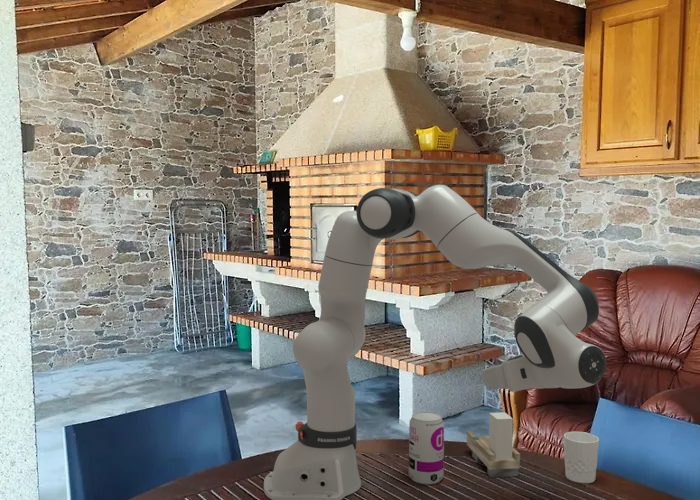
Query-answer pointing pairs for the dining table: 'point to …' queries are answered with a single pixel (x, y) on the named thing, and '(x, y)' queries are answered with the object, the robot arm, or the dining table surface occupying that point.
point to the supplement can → (426, 448)
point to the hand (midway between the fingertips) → (507, 367)
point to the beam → (492, 457)
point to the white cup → (580, 456)
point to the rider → (500, 435)
